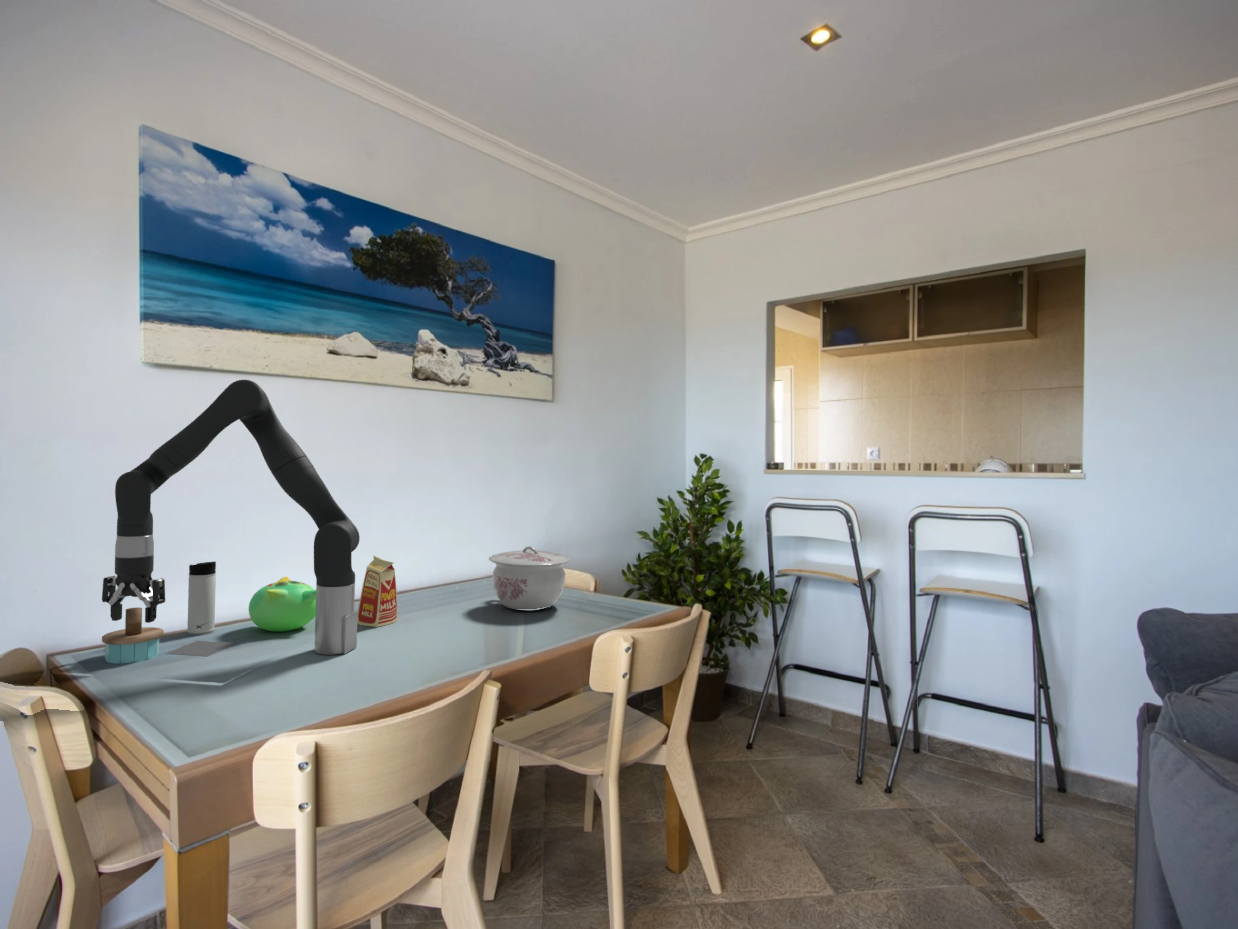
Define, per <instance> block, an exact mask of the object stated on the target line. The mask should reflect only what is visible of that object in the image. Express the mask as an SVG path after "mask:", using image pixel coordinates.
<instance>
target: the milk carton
mask: <svg viewBox="0 0 1238 929" xmlns="http://www.w3.org/2000/svg"><path fill="white" fill-rule="evenodd" d="M372 558H373V560H372V561H371V562H369V564H368V565H366V570H365V574H364V578H363V582H362V586H361V587H362V588H361V591H360V596H359V601H358V606H357V625H361V626H364V627H365V626H366V627H374V628H377V627H382V626H387V625H392V624H393V623H394V624H395V622H397V621H398V620H399V619H398V618H399V617H398V616H399V615H398V614H399V613H398V612H399V611H398V591H397V580H396V571H395V570H396V569H395V567H394V563H395V562H394V561H393V562H392V561H389V560H387V559H383V558H381V557H379V556H376V555H372Z"/></svg>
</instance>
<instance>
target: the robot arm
mask: <svg viewBox="0 0 1238 929" xmlns="http://www.w3.org/2000/svg"><path fill="white" fill-rule="evenodd" d="M238 420H239V421H240V422H241V423H242V424H243V425H244V427H245V428H246V429H247V431H248V432H249V433H250V434H251V436H252V437H253V438H254V440H255V441H256V443H257V445H258V448H259V450H260V452H261V455H262V457H263V459H264V462H265V463H266V466H267V467H268V469H269V470H270V473H271V474H272V476H273V477H274V479H275V480H276V482H277V483H278V485H279V486H280V487H281V489H282V490H283V491H284V493H285V494H286V495H287V496H288V497H289V498H291V499H292V500H293V501H294V502H295V503H296V504H298V505H299V506H300V507H301V508H303V510H305V512H307V514H308V515H309V516H310V518H311V519H312V520H313V521H314V523H315V525H316V526H317V529H318V530H317V532H316V533H315V535H314V540H313V573H314V576H315V580H316V586H315V588H316V589H315V590H316V615H315V617H314V619H315V621H314V623H315V624H314V652H315V653H316V654H318V655H319V654H320V655H326V656H327V655H338V654H339V655H344V654H345V655H346V654H347V653H349V652H351V651H352V650H354V649H356V648H357V647H358V646H357V644H358V643H357V642H358V640H357V639H358V638H357V637H358V624H357V612H358V610H355V600H356V599H355V596H356V595H355V594H356V593H355V592H356V573H355V571H353V567H352V552H354V551H355V550H356V549H357V548H358V546H359V544H360V539H361V538H360V531H359V530H358V528H357V527H356V525H355V524H354V523H353V521H352V520H351V519H350V517H348V515H347V514H346V513H345V512H344V510H343V509H342V508H341V507H340V506H339V504H338V503H337V502H336V500H335V499H334V497H333V496H332V494H331V493H330V491H329V489H328V488H327V486H326V484H325V483H324V481H323V479H322V478H321V477H320V475H319V473H318V471H317V469H316V468H315V467H314V465H313V463H312V462H311V460H310V458H309V457H308V455H307V454H306V452H304V450H303V449H302V448H301V446H300V445H299V444H298V442H297V441H296V440H295V439H294V438H293V436H291V434H290V433H288V431H287V430H286V428H284V426H283V424H282V422H281V421H280V419H279V417H278V416H277V414H276V412H275V410H274V408H273V406H272V404H271V402H270V400H269V397H268V395H267V393H266V392H265V391H264V390H263V388H262V387H261V386H260V385H259V384H258V383H256V382H255V381H252V380H249V379H238V380H235V381H233V382H231V383H230V384H229V385H227V387H225V389H224V390H223V391H222V392H221V393H220V394H219V395H218V396H217V398H215V400H213V402H212V403H211V404H210V405H209V406H208V407H207V408H206V409H205V410H203V412H201V413H200V414H199V415H198V416H197V417H196V418H195V419H194V420H192V421H191V422H190V423H189V424H187V426H185V427H184V428H183V429H182V430H180V431H178V433H177V434H175V435H174V436H172V437H171V438H169V440H167V441H166V442H164V443H163V444H162V445H161V446H159V447H158V448H157V449H156V450H154V451H153V452H152V453H151V454H150V455H149V457H148V458H147V459H146V460H144V461H143V462H142V463H140V464H139V465H137V466H136V467H135V468H133V469H132V470H130V471H127V472H125V473H123V474H121V475H120V476H119V477H117V480H116V482H115V488H114V495H115V496H114V498H115V506H116V511H117V512H116V513H117V520H116V521H117V522H116V539H115V544H114V546H115V548H114V574H115V575H112V576H106V577H104V578H103V580H102V594H101V602H103V603H107V604H109V606H110V614H109V615H110V618H111V621H114V622H117V621H120V620H122V618H123V603H122V602H123V601H124V599H125V598H126V597H133V598H138V600H139V601H142V602H143V604H144V605H145V608H144V609H145V610H144V612H145V613H144V616H145V617H144V623H145V624H149V623H152V622H155V620H156V619H157V608H158V605H161V604H165V602H166V587H165V586H166V585H165V584H166V583H165V579H164V578H163V577H161V578H157V579H153V577H152V573H153V572H154V565H155V564H154V560H155V555H154V554H155V550H154V549H155V542H154V516H153V513H152V511H151V503H152V502H151V499H152V498H151V497H152V494H154V492H156V491H157V490H158V489H159V488H160V487H161V486H162V485H164V484H165V483H166V482H167V481H169V479H170V478H171V477H172V476H174V475H176V474H177V473H179V472H180V471H182V470H183V469H185V467H187V466H188V465H190V463H192V462H194V460H196V459H197V458H198V457H200V455H202V453H203V452H204V451H205V450H206V449H207V448H208V447H209V445H210V444H211V443H212V442H213V441H214V439H216V438H217V436H218V435H219V434H220V433H221V432H223V431H224V430H225V429H226V428H228V427H229V426H231V424H233V423H235V422H236V421H238ZM116 588H117V589H116Z"/></svg>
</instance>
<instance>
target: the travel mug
mask: <svg viewBox="0 0 1238 929" xmlns="http://www.w3.org/2000/svg"><path fill="white" fill-rule="evenodd" d="M216 569H217V563H216V561H206V562H205V561H204V562H199V563H198V562H197V563H196V564H189V567H188V571H189V572H188V591H187V594H188V597H187V633H188V634H189V635H188V634H187V635H188V636H205V635H209V634H212V633H214V632H215V622H216V621H215V619H216V587H217V584H216V581H217V576H216V574H217V570H216Z"/></svg>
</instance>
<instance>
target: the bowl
mask: <svg viewBox="0 0 1238 929" xmlns="http://www.w3.org/2000/svg"><path fill="white" fill-rule="evenodd" d="M159 652H160V638H157V639H154V640H151V641H146V642H141V643H134V644H121V645H114V644H106V643H104V660H105V661H106V662H107V663H111V664H131V663H139V662H142V661H147V660H150V659H153V658H155V657H157V656H158V655H159Z"/></svg>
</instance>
